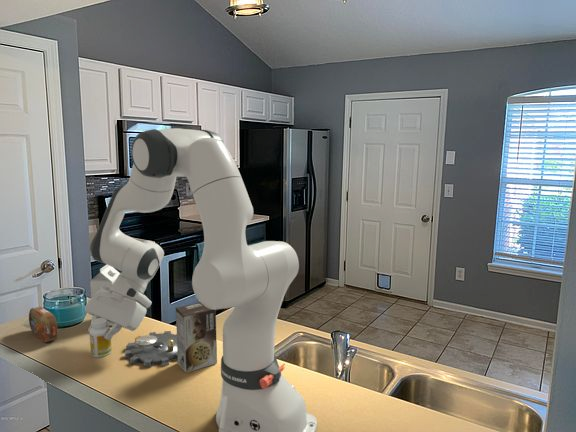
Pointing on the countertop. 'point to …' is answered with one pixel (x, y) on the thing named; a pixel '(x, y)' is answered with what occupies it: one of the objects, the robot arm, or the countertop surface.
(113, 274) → the milk carton
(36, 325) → the tin
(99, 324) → the supplement bottle
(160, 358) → the sprocket
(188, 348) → the coffee box
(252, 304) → the robot arm
